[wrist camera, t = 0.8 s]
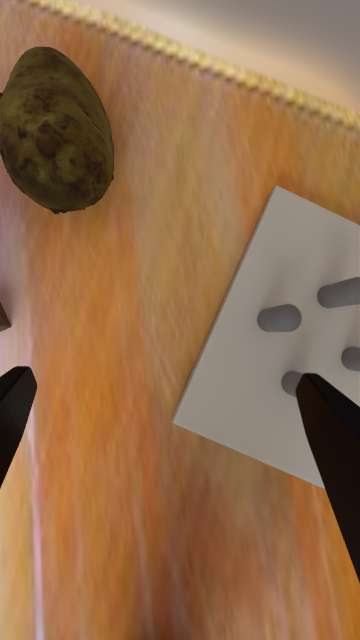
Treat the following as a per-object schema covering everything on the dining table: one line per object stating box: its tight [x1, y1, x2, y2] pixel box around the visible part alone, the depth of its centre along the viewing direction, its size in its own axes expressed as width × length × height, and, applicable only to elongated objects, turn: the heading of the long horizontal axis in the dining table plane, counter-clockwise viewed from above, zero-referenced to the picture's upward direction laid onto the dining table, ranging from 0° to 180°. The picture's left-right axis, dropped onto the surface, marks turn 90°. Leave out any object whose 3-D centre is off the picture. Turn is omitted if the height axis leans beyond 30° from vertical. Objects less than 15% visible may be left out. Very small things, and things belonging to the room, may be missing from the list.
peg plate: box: [172, 185, 360, 489], centre depth 21 cm, size 22×16×5 cm
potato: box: [0, 47, 114, 214], centre depth 19 cm, size 8×13×8 cm, turn 172°
